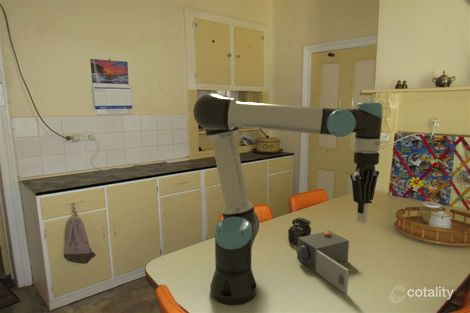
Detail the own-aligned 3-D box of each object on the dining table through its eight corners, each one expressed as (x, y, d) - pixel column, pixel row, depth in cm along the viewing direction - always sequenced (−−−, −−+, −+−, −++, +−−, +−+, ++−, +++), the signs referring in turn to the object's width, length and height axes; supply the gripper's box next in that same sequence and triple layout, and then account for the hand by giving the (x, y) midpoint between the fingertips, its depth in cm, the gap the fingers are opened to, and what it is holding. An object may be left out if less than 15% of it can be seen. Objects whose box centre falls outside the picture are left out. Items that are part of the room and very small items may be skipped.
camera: (310, 246, 139) (311, 224, 138) (287, 244, 141) (287, 222, 140) (310, 234, 152) (311, 214, 150) (289, 233, 154) (289, 213, 153)
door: (312, 270, 118) (312, 250, 116) (316, 269, 118) (317, 249, 117) (342, 294, 103) (344, 270, 102) (347, 292, 104) (348, 269, 102)
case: (310, 271, 118) (311, 247, 116) (293, 258, 128) (293, 236, 126) (347, 261, 126) (349, 238, 124) (328, 250, 135) (329, 228, 134)
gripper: (365, 154, 96) (360, 229, 100) (388, 151, 104) (383, 221, 107) (344, 151, 102) (340, 222, 106) (367, 148, 110) (363, 215, 113)
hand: (361, 221), depth 107 cm, fingers closed
